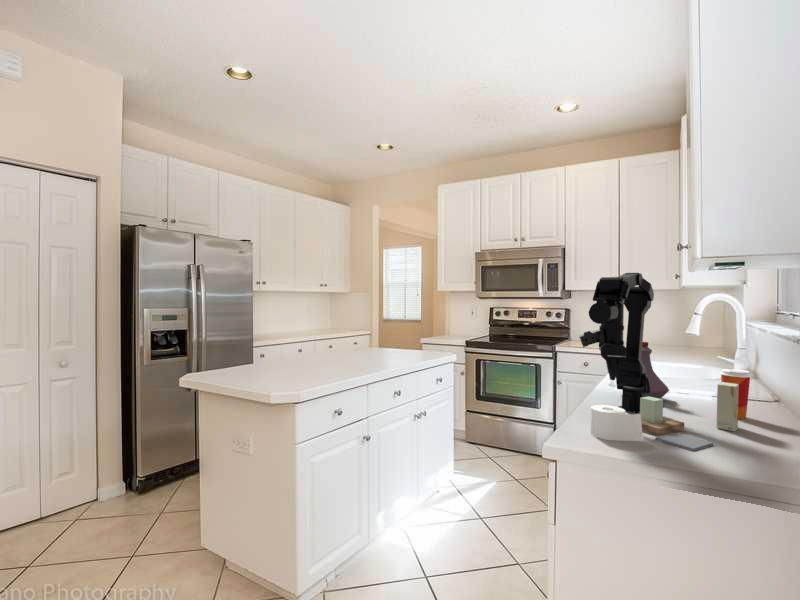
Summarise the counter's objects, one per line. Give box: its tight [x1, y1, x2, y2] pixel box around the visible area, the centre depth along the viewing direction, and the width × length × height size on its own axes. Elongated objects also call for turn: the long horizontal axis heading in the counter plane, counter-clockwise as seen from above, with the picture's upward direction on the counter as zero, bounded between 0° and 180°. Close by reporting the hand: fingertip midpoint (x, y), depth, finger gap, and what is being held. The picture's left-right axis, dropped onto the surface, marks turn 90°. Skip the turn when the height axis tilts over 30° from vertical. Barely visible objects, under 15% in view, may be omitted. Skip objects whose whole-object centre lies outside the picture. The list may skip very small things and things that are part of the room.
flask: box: [641, 341, 670, 399], centre depth 158 cm, size 16×16×20 cm
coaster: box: [654, 432, 714, 452], centre depth 112 cm, size 9×9×1 cm
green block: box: [639, 396, 664, 424], centre depth 124 cm, size 4×4×8 cm
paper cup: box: [719, 368, 752, 420], centre depth 136 cm, size 8×8×14 cm
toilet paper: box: [589, 404, 644, 442], centre depth 117 cm, size 8×11×7 cm
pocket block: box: [633, 412, 685, 437], centre depth 124 cm, size 12×12×2 cm
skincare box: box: [716, 382, 739, 432], centre depth 125 cm, size 6×4×12 cm
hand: (611, 376), depth 127 cm, fingers open, 9 cm apart
